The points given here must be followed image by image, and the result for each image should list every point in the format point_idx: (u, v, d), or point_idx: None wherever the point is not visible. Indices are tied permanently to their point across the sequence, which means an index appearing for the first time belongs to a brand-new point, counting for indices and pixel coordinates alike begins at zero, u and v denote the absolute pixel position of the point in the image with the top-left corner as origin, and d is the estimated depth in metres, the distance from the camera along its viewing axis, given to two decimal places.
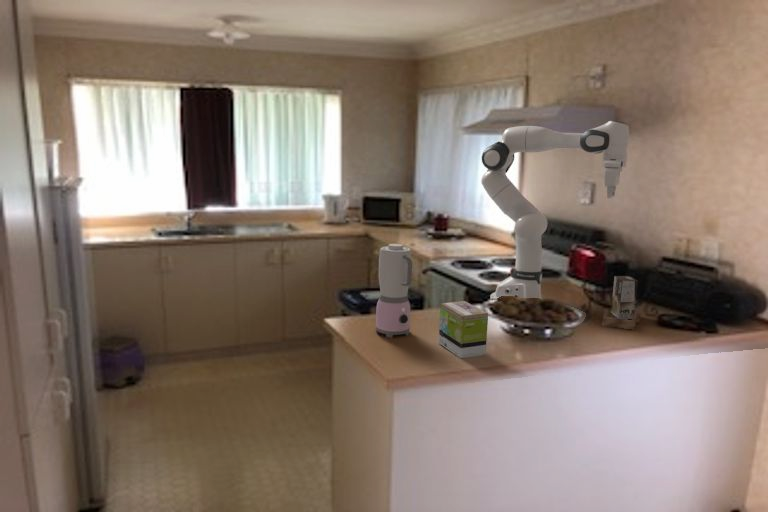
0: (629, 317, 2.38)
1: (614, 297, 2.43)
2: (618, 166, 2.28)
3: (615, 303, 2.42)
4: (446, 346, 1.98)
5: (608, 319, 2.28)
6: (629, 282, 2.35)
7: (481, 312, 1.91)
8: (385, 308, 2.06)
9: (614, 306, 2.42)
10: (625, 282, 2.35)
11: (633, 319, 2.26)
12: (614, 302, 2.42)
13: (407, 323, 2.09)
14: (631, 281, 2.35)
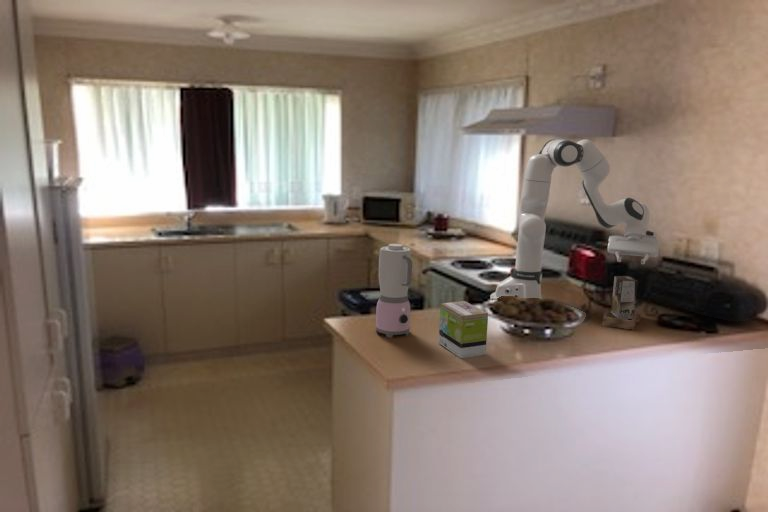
0: (629, 317, 2.38)
1: (614, 297, 2.43)
2: None
3: (615, 303, 2.42)
4: (446, 346, 1.98)
5: (608, 319, 2.28)
6: (629, 282, 2.35)
7: (481, 312, 1.91)
8: (385, 308, 2.06)
9: (614, 306, 2.42)
10: (625, 282, 2.35)
11: (633, 319, 2.26)
12: (614, 302, 2.42)
13: (407, 323, 2.09)
14: (631, 281, 2.35)
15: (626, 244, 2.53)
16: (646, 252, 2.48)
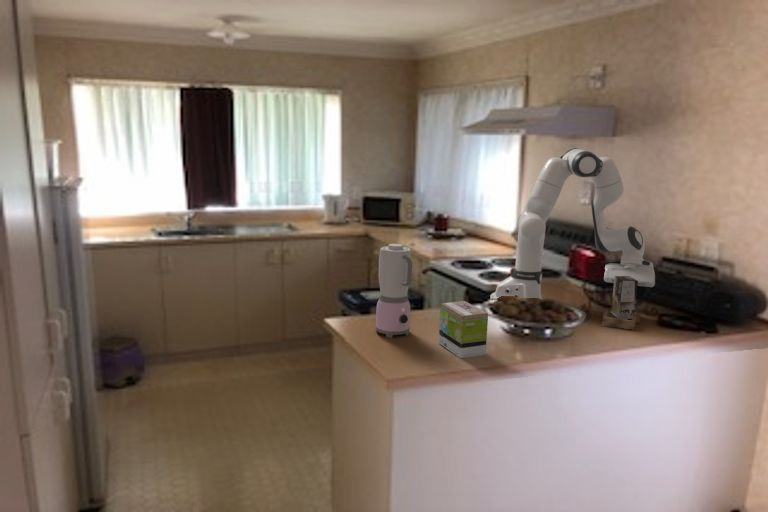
0: (629, 317, 2.38)
1: (614, 297, 2.43)
2: None
3: (615, 303, 2.42)
4: (446, 346, 1.98)
5: (608, 319, 2.28)
6: (629, 282, 2.35)
7: (481, 312, 1.91)
8: (385, 308, 2.06)
9: (614, 306, 2.42)
10: (625, 282, 2.35)
11: (633, 319, 2.26)
12: (614, 302, 2.42)
13: (407, 323, 2.09)
14: (631, 281, 2.35)
15: (622, 273, 2.53)
16: (642, 282, 2.49)
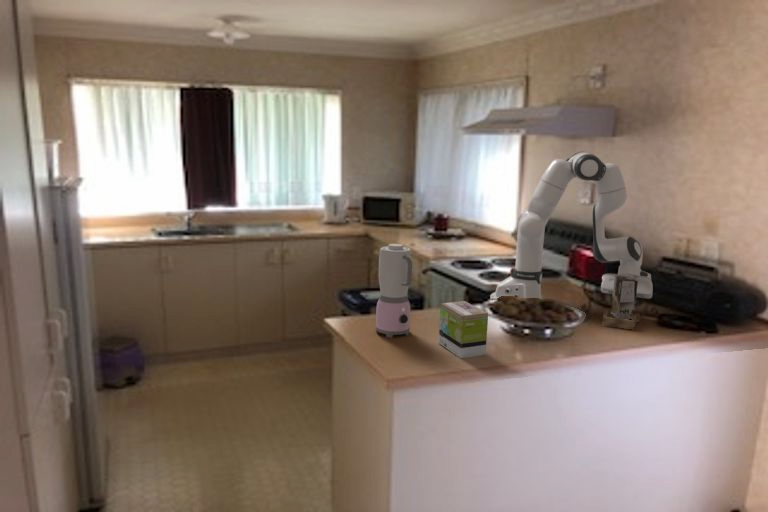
0: (629, 317, 2.37)
1: (614, 297, 2.42)
2: None
3: (615, 303, 2.41)
4: (446, 346, 1.98)
5: (608, 319, 2.28)
6: (629, 282, 2.35)
7: (481, 312, 1.91)
8: (385, 308, 2.06)
9: (614, 306, 2.42)
10: (625, 282, 2.35)
11: (633, 319, 2.26)
12: (614, 303, 2.42)
13: (407, 323, 2.09)
14: (631, 281, 2.35)
15: None
16: (640, 293, 2.45)
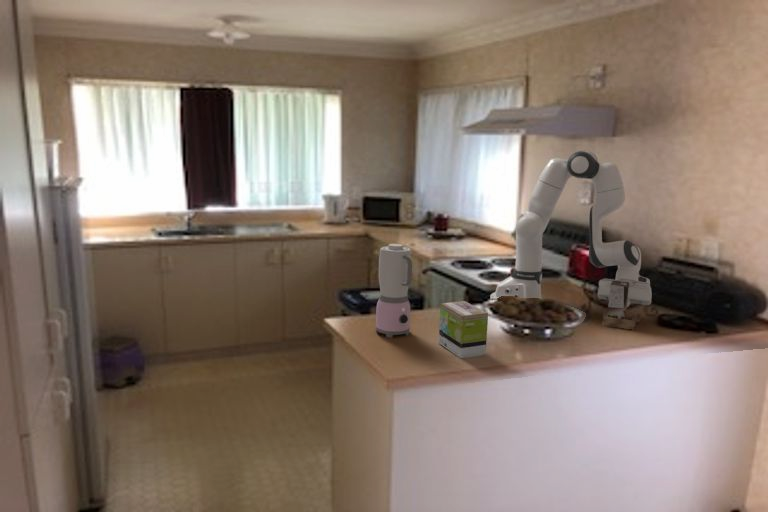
0: None
1: None
2: None
3: None
4: (446, 346, 1.98)
5: (608, 319, 2.28)
6: (617, 287, 2.26)
7: (481, 312, 1.91)
8: (385, 308, 2.06)
9: None
10: (613, 287, 2.27)
11: (633, 319, 2.26)
12: None
13: (407, 323, 2.09)
14: (620, 286, 2.26)
15: None
16: (638, 300, 2.35)
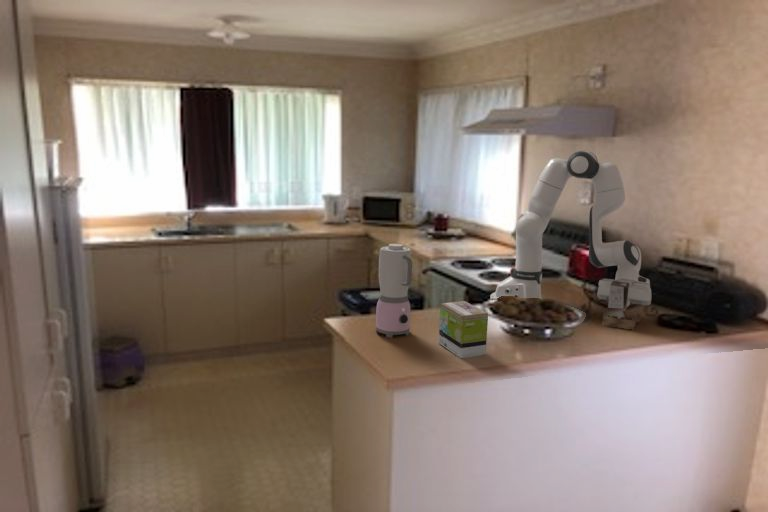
0: None
1: None
2: None
3: None
4: (446, 346, 1.98)
5: (608, 319, 2.28)
6: (617, 287, 2.26)
7: (481, 312, 1.91)
8: (385, 308, 2.06)
9: None
10: (613, 287, 2.26)
11: (633, 319, 2.26)
12: None
13: (407, 323, 2.09)
14: (620, 287, 2.25)
15: None
16: (638, 300, 2.34)
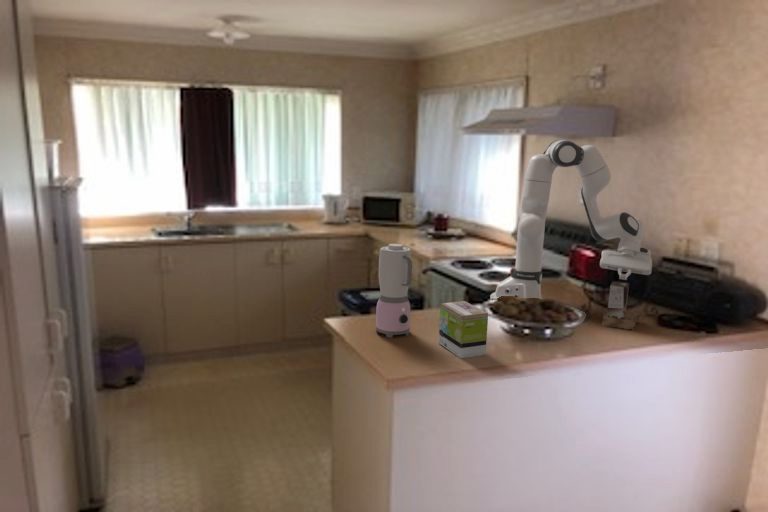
0: None
1: None
2: None
3: None
4: (446, 346, 1.98)
5: (608, 319, 2.28)
6: (617, 287, 2.26)
7: (481, 312, 1.91)
8: (385, 308, 2.06)
9: None
10: (613, 287, 2.26)
11: (633, 319, 2.26)
12: None
13: (407, 323, 2.09)
14: (620, 287, 2.25)
15: (619, 260, 2.48)
16: (639, 269, 2.43)
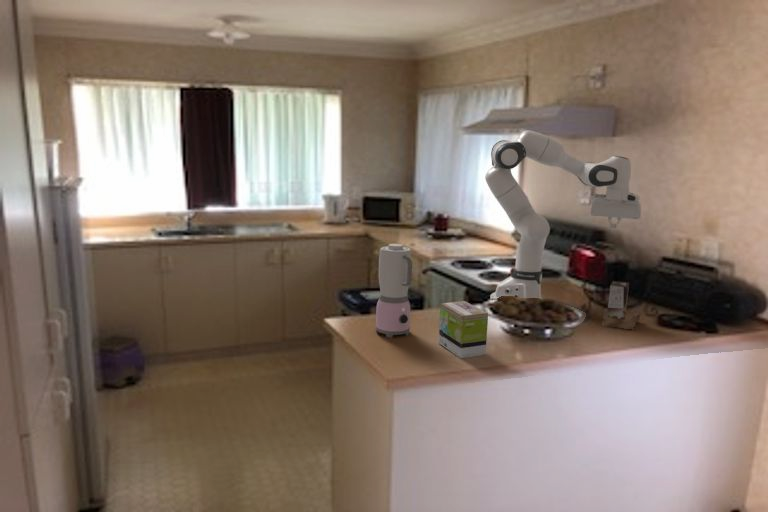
0: None
1: None
2: None
3: None
4: (446, 346, 1.98)
5: (608, 319, 2.28)
6: (617, 287, 2.26)
7: (481, 312, 1.91)
8: (385, 308, 2.06)
9: None
10: (613, 287, 2.26)
11: (633, 319, 2.26)
12: None
13: (407, 323, 2.09)
14: (620, 287, 2.25)
15: (608, 209, 2.50)
16: (628, 218, 2.47)
